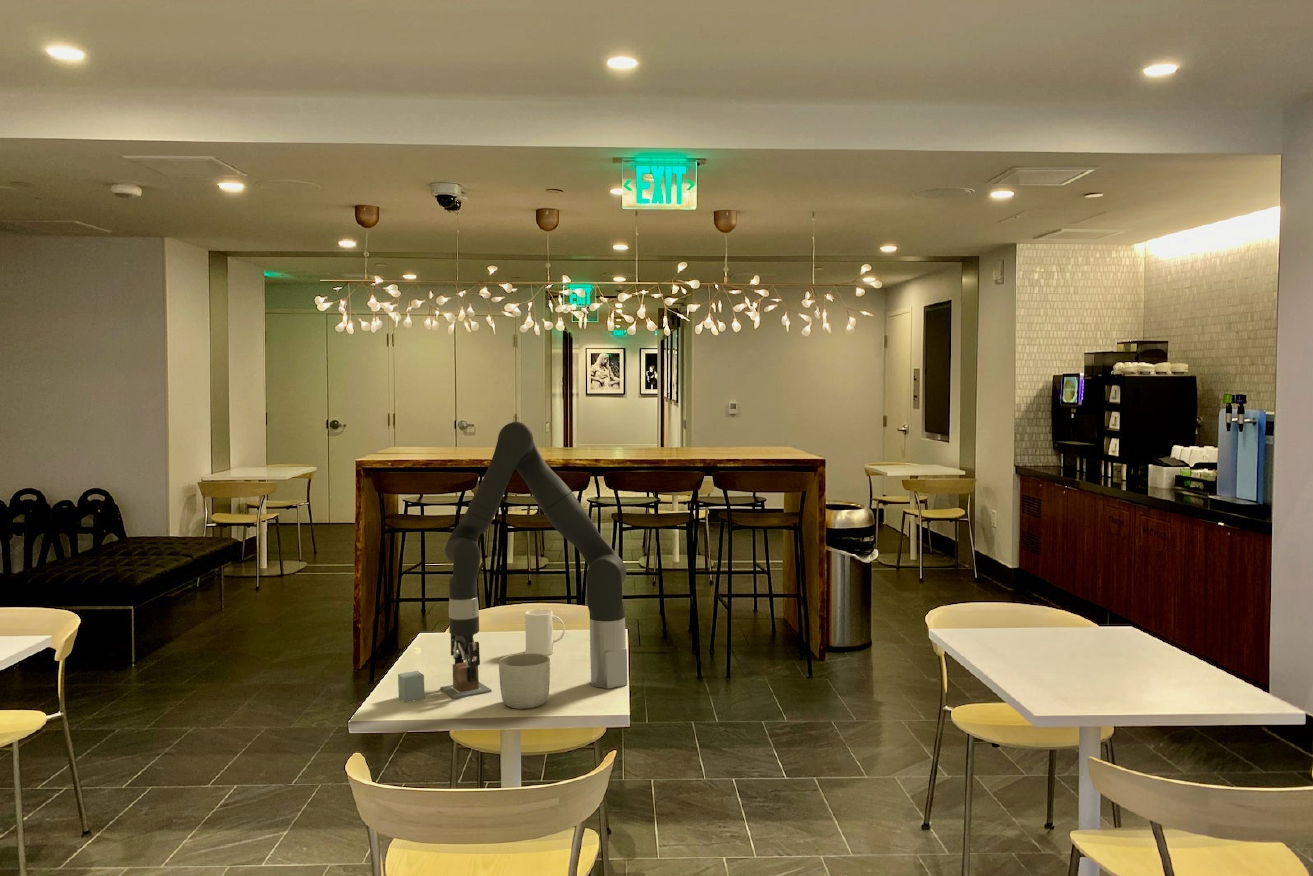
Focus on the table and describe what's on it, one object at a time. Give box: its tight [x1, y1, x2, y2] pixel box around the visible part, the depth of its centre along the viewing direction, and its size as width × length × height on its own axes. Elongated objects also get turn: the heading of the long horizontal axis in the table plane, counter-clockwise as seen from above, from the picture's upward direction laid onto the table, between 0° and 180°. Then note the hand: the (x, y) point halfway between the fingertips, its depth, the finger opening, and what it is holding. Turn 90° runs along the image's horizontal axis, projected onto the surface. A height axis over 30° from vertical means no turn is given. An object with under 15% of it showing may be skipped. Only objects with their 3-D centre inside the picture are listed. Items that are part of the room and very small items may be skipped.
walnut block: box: [452, 661, 480, 692], centre depth 243 cm, size 5×5×6 cm
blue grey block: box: [397, 670, 425, 703], centre depth 238 cm, size 5×5×6 cm
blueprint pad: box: [439, 681, 493, 699], centre depth 243 cm, size 10×10×1 cm
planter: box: [498, 652, 551, 710], centre depth 231 cm, size 12×12×11 cm
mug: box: [524, 608, 566, 656], centre depth 279 cm, size 12×8×12 cm
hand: (465, 677), depth 243 cm, fingers open, 8 cm apart
